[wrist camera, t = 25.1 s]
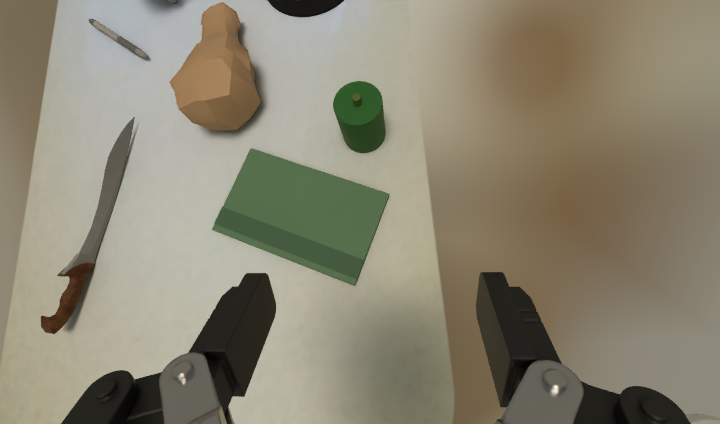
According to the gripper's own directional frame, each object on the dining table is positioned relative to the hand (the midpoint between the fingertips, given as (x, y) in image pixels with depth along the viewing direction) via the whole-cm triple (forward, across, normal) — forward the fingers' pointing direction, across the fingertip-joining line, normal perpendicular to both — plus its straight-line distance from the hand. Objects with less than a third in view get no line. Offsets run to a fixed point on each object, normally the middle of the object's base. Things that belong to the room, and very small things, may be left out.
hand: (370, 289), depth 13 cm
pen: (+48, +42, -8) cm, 65 cm away
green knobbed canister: (+35, +3, +5) cm, 36 cm away
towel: (+28, +12, +13) cm, 33 cm away
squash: (+42, +23, -2) cm, 48 cm away
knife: (+28, +39, +13) cm, 49 cm away
